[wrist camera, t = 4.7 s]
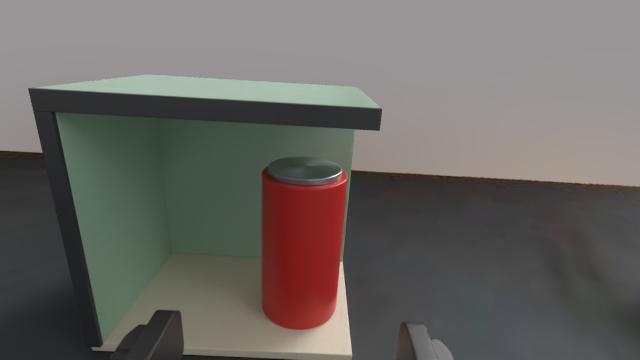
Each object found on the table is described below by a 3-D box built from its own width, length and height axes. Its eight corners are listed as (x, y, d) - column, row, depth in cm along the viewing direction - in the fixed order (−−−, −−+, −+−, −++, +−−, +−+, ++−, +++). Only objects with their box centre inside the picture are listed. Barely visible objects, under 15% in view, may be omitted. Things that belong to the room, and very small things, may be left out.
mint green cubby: (351, 366, 21) (382, 108, 16) (88, 355, 21) (27, 88, 15) (341, 262, 31) (357, 87, 26) (166, 253, 31) (146, 74, 26)
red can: (246, 312, 24) (243, 170, 20) (286, 272, 28) (289, 150, 25) (316, 341, 22) (327, 189, 18) (346, 292, 26) (360, 163, 23)
